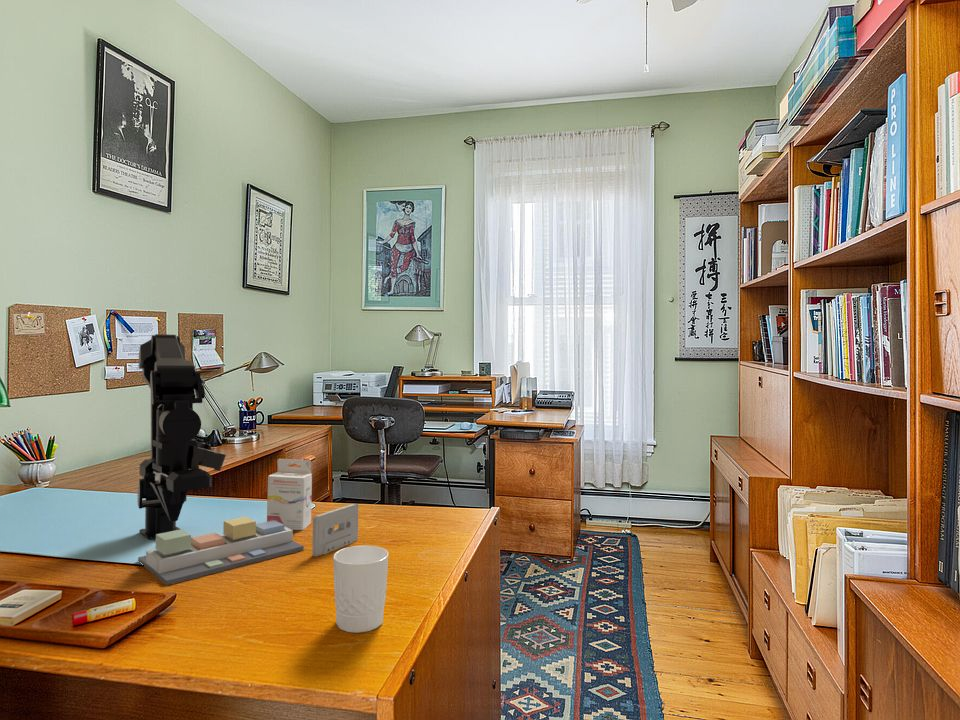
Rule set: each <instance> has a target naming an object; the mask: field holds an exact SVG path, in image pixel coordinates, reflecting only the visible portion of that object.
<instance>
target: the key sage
mask: <svg viewBox="0 0 960 720" xmlns="http://www.w3.org/2000/svg"><path fill="white" fill-rule="evenodd" d="M191 538H192V534H191V533H189V532H187V531H186V530H184V528H183V529H181V528H180V530H175V531H170V532H165V533H160V534H156V538H155V549H157V550H158V551H159V552H161V553H162V554H164V555H167V554H171V553H176V552H180V551H185V550H189V549H191Z"/></svg>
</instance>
